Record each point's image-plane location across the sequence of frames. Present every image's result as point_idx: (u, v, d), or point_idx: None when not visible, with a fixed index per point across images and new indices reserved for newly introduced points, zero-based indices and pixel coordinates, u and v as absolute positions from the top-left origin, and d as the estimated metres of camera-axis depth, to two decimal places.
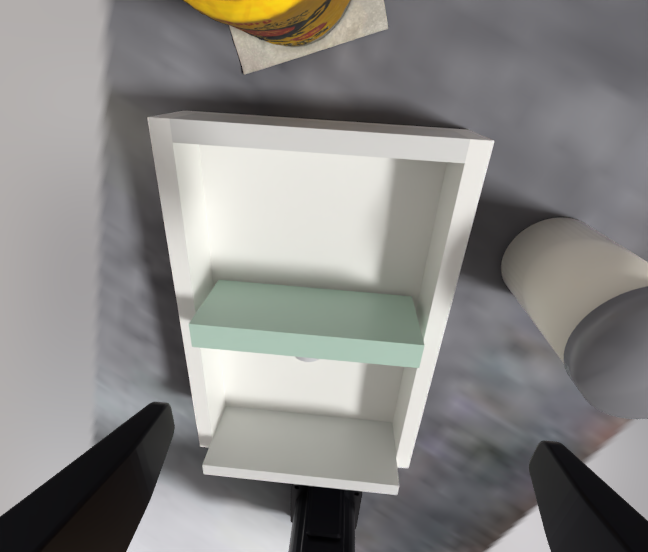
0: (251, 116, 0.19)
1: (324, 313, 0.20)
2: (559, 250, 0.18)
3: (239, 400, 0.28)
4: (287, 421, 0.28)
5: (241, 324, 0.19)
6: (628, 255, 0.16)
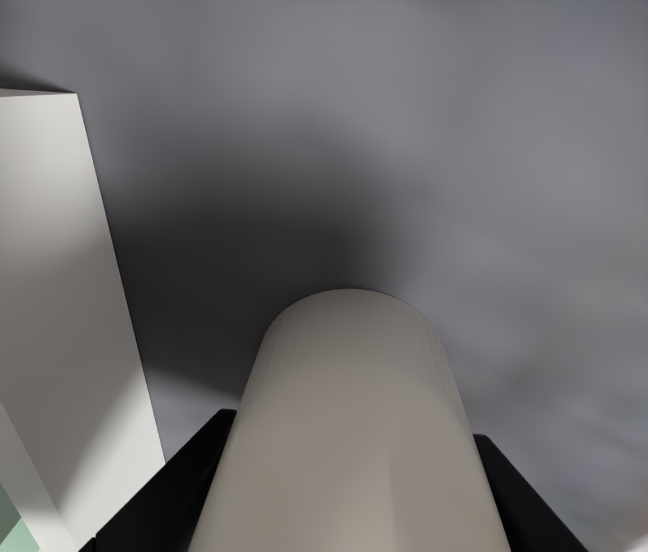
0: None
1: None
2: (265, 401, 0.07)
3: None
4: None
5: None
6: (381, 470, 0.05)
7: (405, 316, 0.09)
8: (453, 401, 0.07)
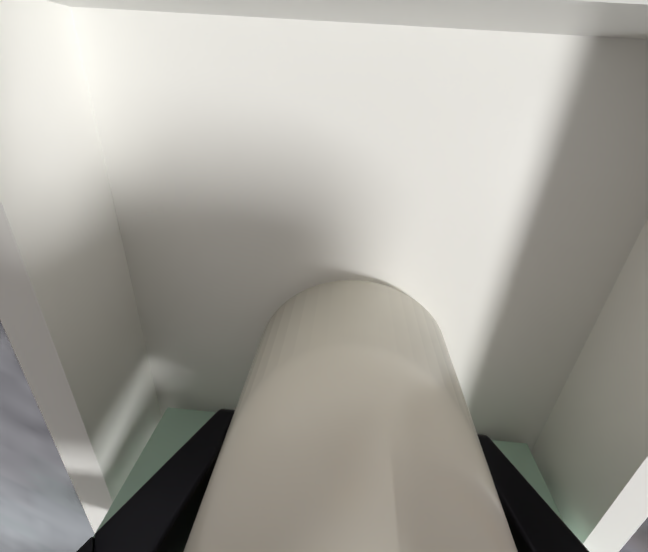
0: None
1: None
2: (266, 389, 0.07)
3: None
4: None
5: None
6: (381, 453, 0.05)
7: (405, 307, 0.09)
8: (454, 389, 0.07)
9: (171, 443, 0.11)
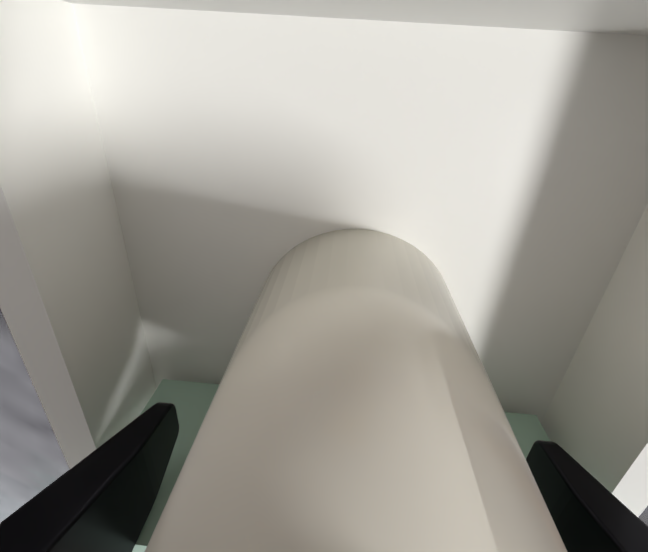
0: None
1: None
2: (266, 322, 0.07)
3: None
4: None
5: None
6: (387, 363, 0.05)
7: (409, 252, 0.09)
8: (460, 325, 0.07)
9: None
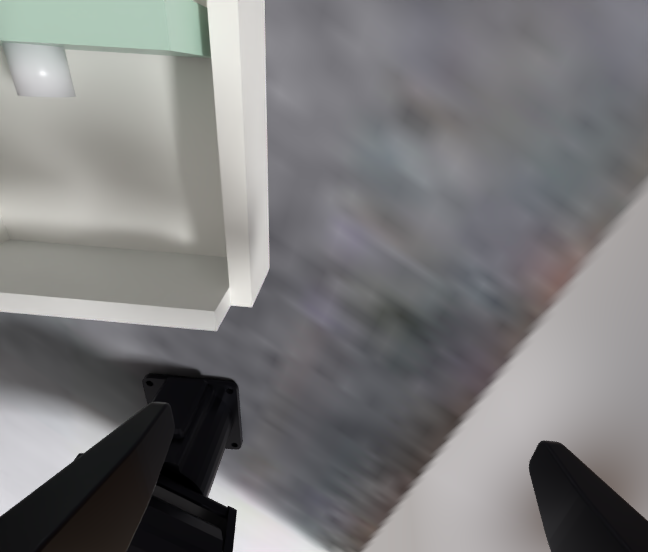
0: None
1: None
2: None
3: (25, 228, 0.19)
4: (89, 253, 0.19)
5: None
6: None
7: None
8: None
9: None
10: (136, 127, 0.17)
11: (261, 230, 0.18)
